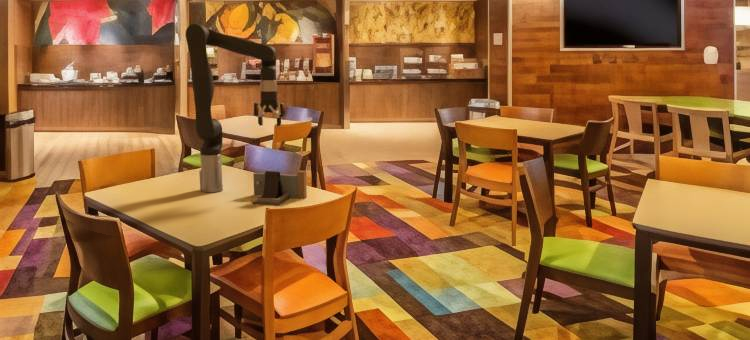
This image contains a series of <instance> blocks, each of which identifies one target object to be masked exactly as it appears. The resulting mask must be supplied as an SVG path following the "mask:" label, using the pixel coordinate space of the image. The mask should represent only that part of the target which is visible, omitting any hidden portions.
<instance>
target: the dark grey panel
mask: <svg viewBox="0 0 750 340" xmlns="http://www.w3.org/2000/svg"><path fill="white" fill-rule="evenodd" d="M280 180H281V185H282V191H283V195H284V194H285V193H289V196H291V198H290V199H292V198H293V199H301V200H302V199H303V200H305V199H306V198H307V196H308V195H307V194H308V193H307V191H308V190H307V170H298V171H297V173H296V174H288V173H287V174H285V173H283V174H282V173H280ZM264 183H265V172H254V173H253V196H257V197H259V196H261V195H263V192H264Z"/></svg>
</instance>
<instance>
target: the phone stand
mask: <svg viewBox="0 0 750 340" xmlns="http://www.w3.org/2000/svg"><path fill="white" fill-rule="evenodd" d="M264 173H265V183H264V192H263V198H274V199H278V198H279V197H281V196H282V195H283V191H282V185H281V180H280V174H281V172H280V171H271V170H266V171H265V172H264Z"/></svg>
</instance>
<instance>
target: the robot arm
mask: <svg viewBox="0 0 750 340" xmlns="http://www.w3.org/2000/svg"><path fill="white" fill-rule="evenodd" d="M185 39H186V43H187V47H188V51H189V53H188V54H189V58H190V59H189V60H190V72H191V74H190V75H191V76H190V77H191V83H192V91H193V98H194V99H193V100H194V107H195V108H194V109H195V131H196V135H197V136H198V138H199V139H201V140H202V141H203V144H202V146H201V147H200V149H199V152H200V153H199V154H200V170H199V187H200V188H199V191H200V192H203V193H219V192H221V191H223V187H224V186H223V168H222V148H223V127H222V123H221V122H220V120H218V119H217V118H213V117H212V111H211V110H212V102H213V99H214V93H215V85H214V76H213V71H212V68H211V65H210V61H209V59H208V53H207V46H212V47H216V48H221V49H224V50H226V51H229V52H232V53H235V54H239V55H243V56H247V57H251V58H255V59H257V60H261V61H260V63H261V68H260V83H259V84H260V85H259V89H260V90H259V91H260V102H257V101H256V102H254V103H253V116H255V117H256V118H257V123H258V125H259V126H261V127H262V126H263V125H264V124H263V123H264V122H263V119H264V118H263V115H264V114H265V113H266V114H267V113H270V114H271V113H273V114H274V115H275V116H276V117H277V118H276V126H277V127H280V126H281V125H282V117H285V116H286V107H285V103H284V102H282V103H278V84H277V83H278V82H277V69H276V68H277V51H276V48H275V47H274V46H272V45H271V44H270V45H268V44H263V43H259V42H255V41H254V40H251V39H246V38H243V37H239V36H234V35H229V34H224V33H221V32H218V31H215V30H212V29H211V28H209V27H207V26H205V25H203V24H201V23H191V24H190V25H188V26H187V28H186V30H185ZM259 108H261V110H260V111H259ZM278 108H279V109H278Z"/></svg>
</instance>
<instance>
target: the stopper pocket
mask: <svg viewBox="0 0 750 340" xmlns="http://www.w3.org/2000/svg"><path fill="white" fill-rule="evenodd" d="M290 199H292V198H291V196H289V193H285V194H284V195H282V196H281V197H279V198H278V199H274V198H263V195H261V196H257V197H256V200H254V201H253V202H252V205H264V204H265V205H266V206H280V205H282V204H283V203H286V201H288V200H290ZM265 205H264V206H265Z"/></svg>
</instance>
